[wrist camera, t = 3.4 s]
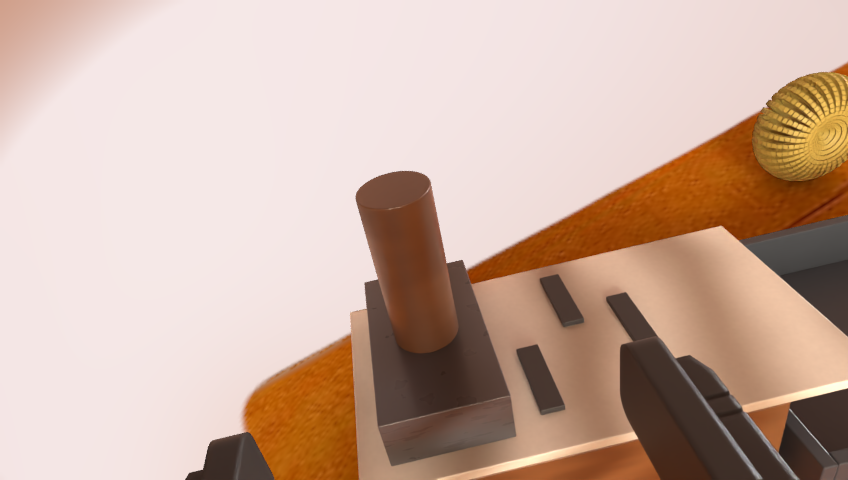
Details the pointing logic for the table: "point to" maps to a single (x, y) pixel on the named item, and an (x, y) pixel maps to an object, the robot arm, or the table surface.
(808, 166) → the sculpture
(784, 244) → the bin
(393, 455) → the stamp with brown handle
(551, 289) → the bar
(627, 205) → the table surface
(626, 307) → the marker stroke
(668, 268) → the beige flat block
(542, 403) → the strip
